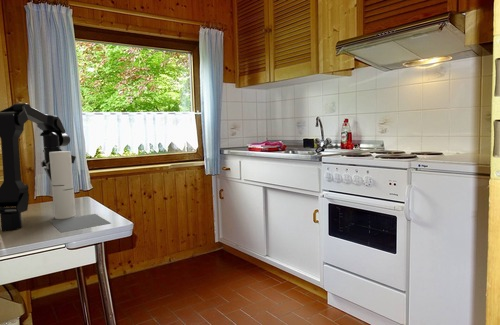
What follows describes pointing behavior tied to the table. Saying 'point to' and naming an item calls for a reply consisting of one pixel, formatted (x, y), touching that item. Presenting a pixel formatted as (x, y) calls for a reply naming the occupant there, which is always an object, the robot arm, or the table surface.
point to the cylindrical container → (62, 184)
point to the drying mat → (79, 222)
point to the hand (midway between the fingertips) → (54, 184)
